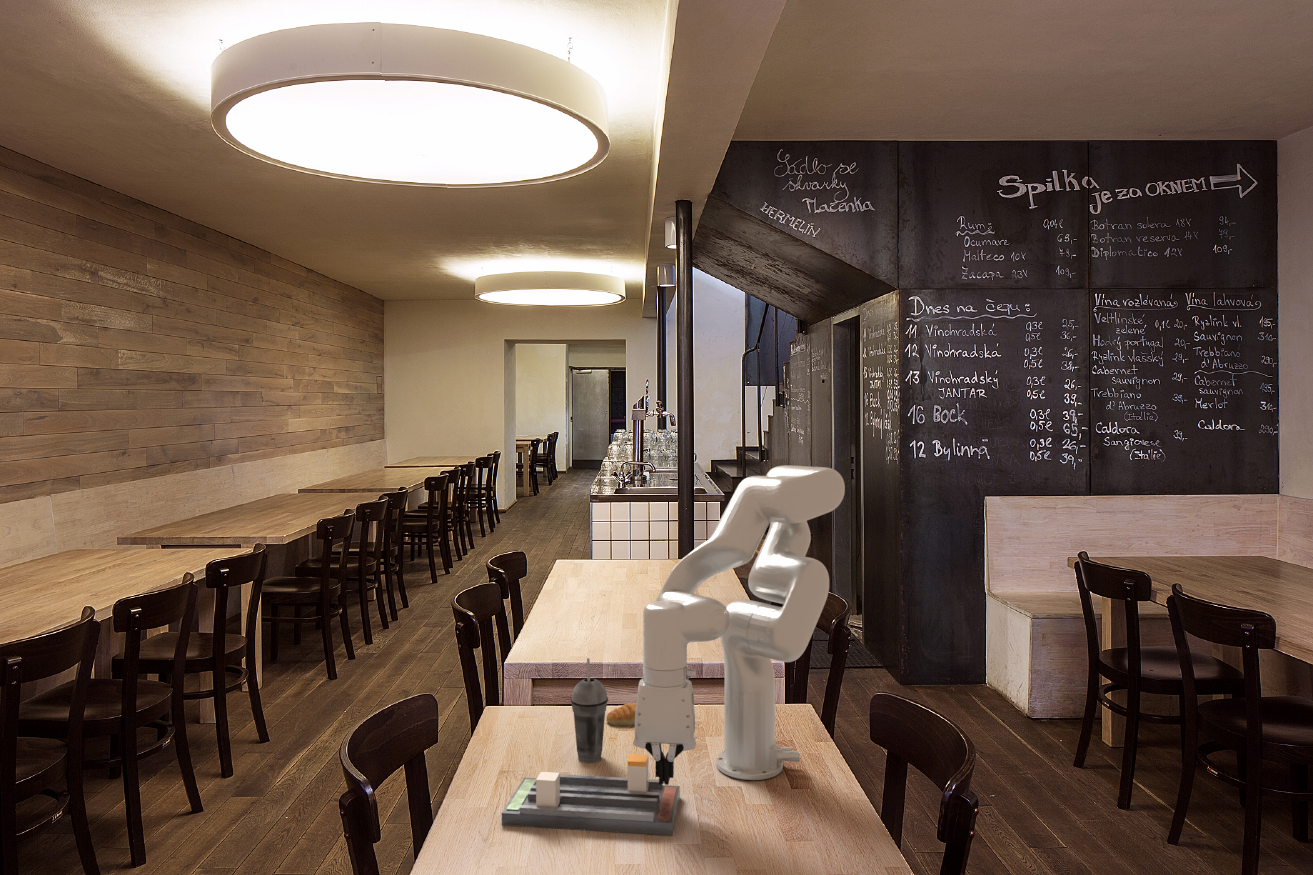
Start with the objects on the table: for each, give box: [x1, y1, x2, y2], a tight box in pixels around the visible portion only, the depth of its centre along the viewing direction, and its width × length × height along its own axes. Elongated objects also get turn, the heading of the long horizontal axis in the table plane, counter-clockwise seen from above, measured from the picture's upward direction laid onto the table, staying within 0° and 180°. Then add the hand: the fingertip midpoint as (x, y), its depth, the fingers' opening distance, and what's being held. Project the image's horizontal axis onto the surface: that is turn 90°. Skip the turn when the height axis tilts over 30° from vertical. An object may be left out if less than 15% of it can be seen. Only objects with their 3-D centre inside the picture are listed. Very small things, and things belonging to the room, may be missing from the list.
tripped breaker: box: [627, 753, 650, 792], centre depth 139 cm, size 3×3×6 cm
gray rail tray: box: [501, 773, 681, 836], centre depth 136 cm, size 28×13×3 cm, turn 83°
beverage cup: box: [570, 657, 609, 764], centre depth 157 cm, size 7×7×20 cm
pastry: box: [605, 702, 636, 727], centre depth 177 cm, size 9×7×4 cm
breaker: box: [536, 771, 560, 807], centre depth 134 cm, size 3×3×5 cm
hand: (664, 780), depth 138 cm, fingers closed
